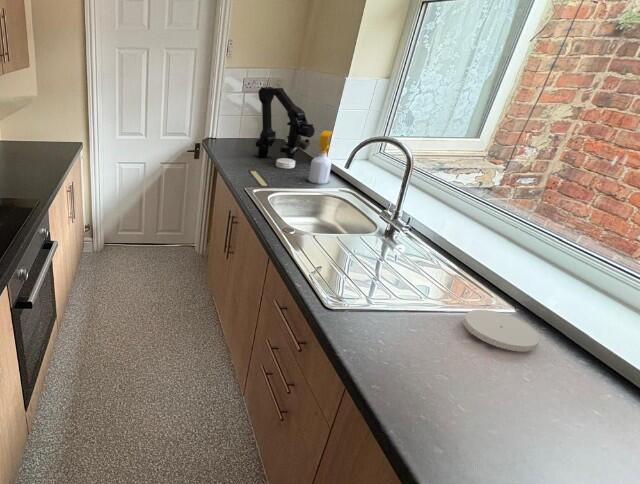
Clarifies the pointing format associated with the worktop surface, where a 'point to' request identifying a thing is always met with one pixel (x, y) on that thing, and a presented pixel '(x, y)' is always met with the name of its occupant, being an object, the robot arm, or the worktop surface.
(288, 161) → the white round container
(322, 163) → the soap bottle
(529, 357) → the worktop surface
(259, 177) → the strip
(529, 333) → the plastic lid
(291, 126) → the robot arm
